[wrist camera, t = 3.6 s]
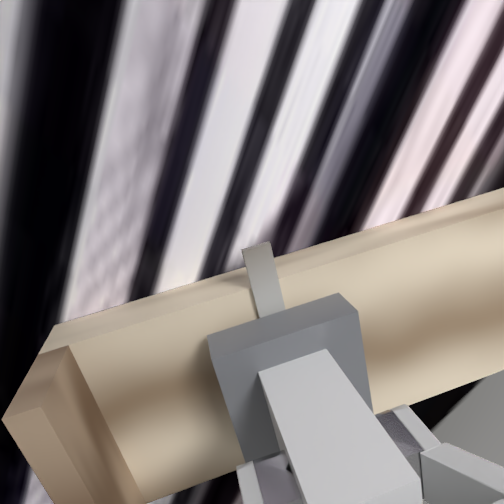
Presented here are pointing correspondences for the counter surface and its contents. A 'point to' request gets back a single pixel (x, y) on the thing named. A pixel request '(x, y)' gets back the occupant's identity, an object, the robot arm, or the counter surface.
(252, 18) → the counter surface
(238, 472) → the robot arm
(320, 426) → the fader tab
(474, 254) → the fader track
